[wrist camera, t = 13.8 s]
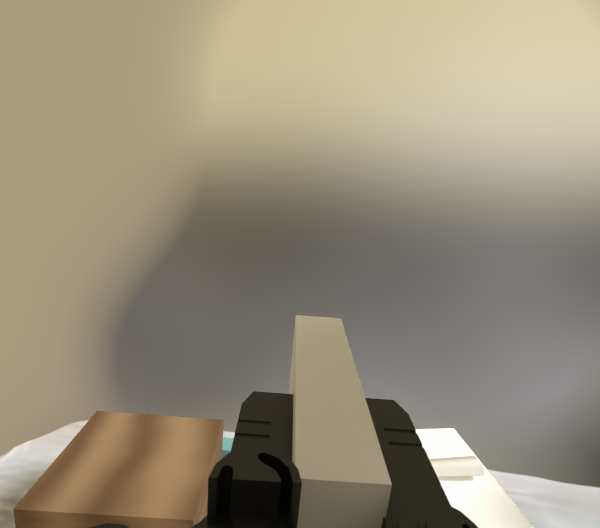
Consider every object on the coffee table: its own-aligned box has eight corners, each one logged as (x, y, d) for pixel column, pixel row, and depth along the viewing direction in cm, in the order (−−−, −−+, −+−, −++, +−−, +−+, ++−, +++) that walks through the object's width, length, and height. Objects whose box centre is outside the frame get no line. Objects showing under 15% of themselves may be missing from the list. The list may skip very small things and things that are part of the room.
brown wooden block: (221, 478, 42) (223, 419, 40) (191, 595, 30) (193, 520, 28) (100, 470, 42) (96, 411, 40) (23, 586, 30) (13, 509, 28)
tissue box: (266, 489, 47) (271, 417, 44) (442, 480, 51) (456, 413, 48) (274, 622, 33) (283, 529, 30) (515, 595, 37) (541, 511, 34)
